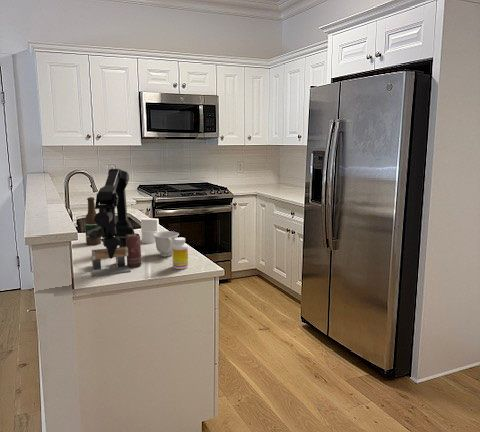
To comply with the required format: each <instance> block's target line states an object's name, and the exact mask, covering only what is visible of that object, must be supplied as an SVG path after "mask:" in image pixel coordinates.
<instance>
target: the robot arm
mask: <svg viewBox="0 0 480 432" xmlns="http://www.w3.org/2000/svg"><path fill="white" fill-rule="evenodd" d="M129 182H130V175H129V173H128V172H127V171H125V170H123V169H120V168H110V169H108V171H107V178H106V181H105V184H104V186H102V187H100V188H99V190H98V191H97V193H96V197H95V203H94V204H95V210H98V212H96V215H95V218H94V220H95V223H96V224H97V225H98V226H100V227H97V228H94V229H92V230H90V231H88V232H87V234H88V236H89V238H90V240H91V241H93V240H94V239H96V238H99V237H101V243H102V245H103V247H105V249H107V250H108V254H109V258H108V259H110V260H111V259H113V258H114V257H113V256H114V253H115V251H116V248H117V247H126V235H127V234H133V233H135V230H134V228H133V225H132V221H130V219H129V218H128V208H127V198H126V197H127V194H126V188H127V186H128V184H129ZM116 213H117V214H116ZM116 216H117V220H116Z"/></svg>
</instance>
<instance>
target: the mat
mask: <svg viewBox="0 0 480 432" xmlns="http://www.w3.org/2000/svg"><path fill="white" fill-rule="evenodd" d="M124 273H131V268H130V267H128V266H127V265H125V266H124V267H118V266H115V267H108V268H101V269H99V270H94V269H92V270H91V274H92V278H93V277H100V276H109V275H117V274H118V275H119V274H124Z"/></svg>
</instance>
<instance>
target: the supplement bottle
mask: <svg viewBox="0 0 480 432" xmlns="http://www.w3.org/2000/svg"><path fill="white" fill-rule="evenodd" d="M174 242H175V244H174V245H173V246H172V255H171V256H172V268H173V269H175V270H184V269H185V270H186V269H187V268H188V266H189V258H188V257H189V255H188V253H189V248H188V244H187V243H186V238H185V237H182V236H181V237H177V238H175V239H174Z"/></svg>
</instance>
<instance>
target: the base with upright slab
mask: <svg viewBox="0 0 480 432" xmlns="http://www.w3.org/2000/svg"><path fill="white" fill-rule="evenodd" d="M159 224H160V223H159V218H153V217H152V218H150V217H147V218H146V217H141V218H140V229H141V232H140V233H141V243H142V244H147V245H148V244H151V245H152V244H156V242H155V237H154V236H153V234H155V233H157V232H160V226H159Z"/></svg>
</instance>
